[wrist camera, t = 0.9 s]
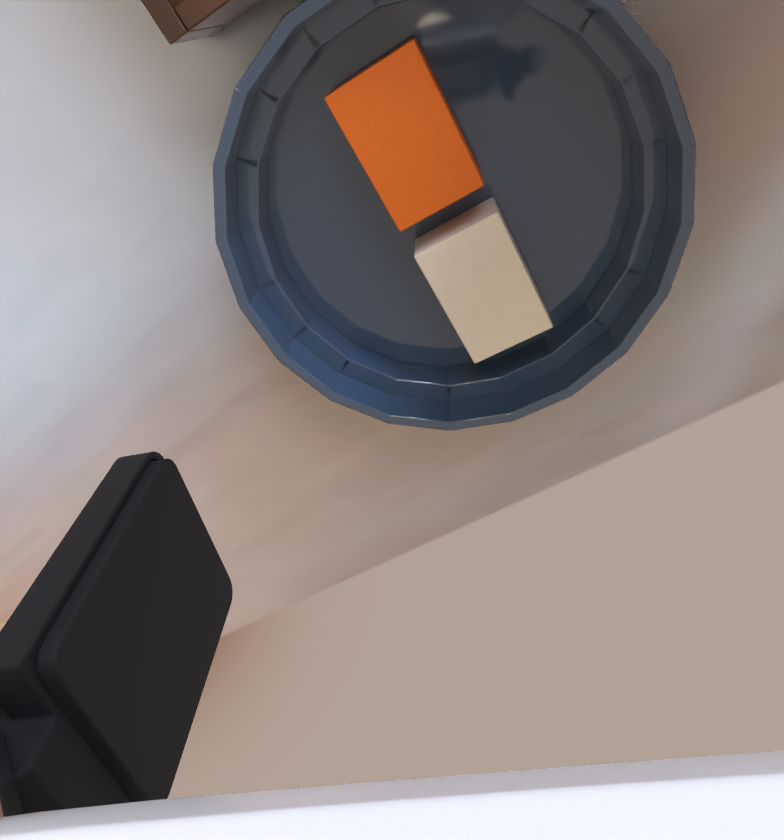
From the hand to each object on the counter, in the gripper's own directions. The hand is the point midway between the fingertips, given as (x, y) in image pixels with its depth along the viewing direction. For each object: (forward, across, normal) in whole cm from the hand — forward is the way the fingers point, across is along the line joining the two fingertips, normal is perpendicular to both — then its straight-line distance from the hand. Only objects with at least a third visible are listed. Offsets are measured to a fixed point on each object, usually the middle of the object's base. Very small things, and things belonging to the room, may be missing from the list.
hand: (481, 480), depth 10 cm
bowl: (+23, 0, +2) cm, 23 cm away
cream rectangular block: (+23, -1, +5) cm, 23 cm away
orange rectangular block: (+23, +1, -2) cm, 23 cm away
